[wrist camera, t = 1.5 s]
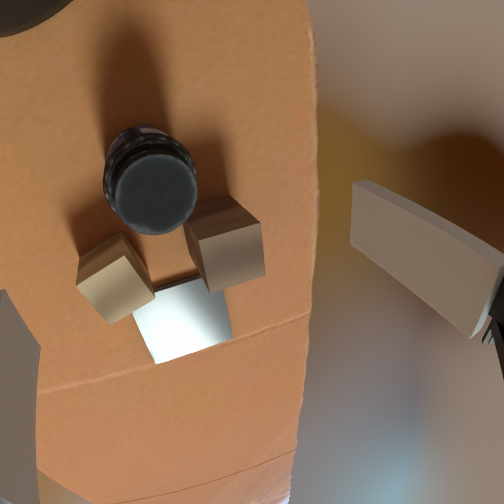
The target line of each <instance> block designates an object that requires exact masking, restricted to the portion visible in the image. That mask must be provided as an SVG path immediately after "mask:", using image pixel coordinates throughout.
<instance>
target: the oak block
mask: <svg viewBox="0 0 504 504" xmlns="http://www.w3.org/2000/svg"><path fill="white" fill-rule="evenodd" d="M76 287H77V288H78V289H79V291H80V292H81V293H82V294H83V295H84V296H85V298H86V299H87V300H88V301H89V302H90V303H91V305H92V306H93V307H94V308H95V309H96V310H97V311H98V313H99V314H100V315H101V316H102V317H103V318H104V319H105V320H106V321H107V322H108V324H109V325H111V324H113V323H115V322H116V321H118V320H120V319H122V318H123V317H125V316H127V315H128V314H130V313H132V312H134V311H135V310H137V309H139V308H140V307H142V306H144V305H145V304H147V303H149V302H151V301H152V300H154V299H156V298H155V294H154V290H153V286H152V282H151V278H150V275H149V271H148V269H147V267H146V266H145V264H144V263H143V262H142V260H141V259H140V257H139V256H138V254H137V253H136V251H135V250H134V248H133V247H132V245H131V244H130V242H129V241H128V239H127V238H126V236H125V235H124V233H123V232H122V231H121V232H119V233H117V234H116V235H114V236H113V237H111V238H109V239H108V240H106V241H105V242H103V243H101V244H100V245H98V246H97V247H95V248H94V249H92V250H91V251H89V252H88V253H86V254H84V255H83V256H81V257H80V258H79V265H78V272H77V280H76Z"/></svg>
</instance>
